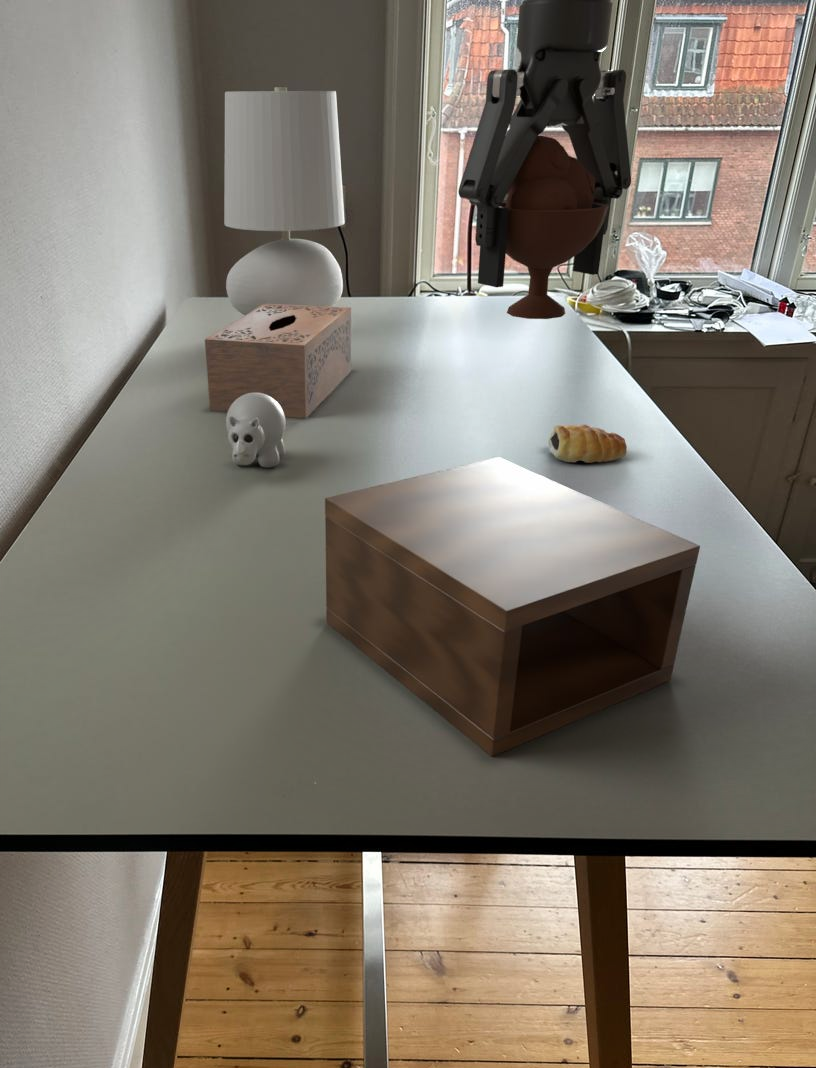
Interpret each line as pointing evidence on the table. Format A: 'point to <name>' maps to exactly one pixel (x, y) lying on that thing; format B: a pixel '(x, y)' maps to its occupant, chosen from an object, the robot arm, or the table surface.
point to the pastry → (585, 444)
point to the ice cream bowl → (549, 220)
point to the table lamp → (283, 195)
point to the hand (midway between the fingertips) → (539, 278)
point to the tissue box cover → (280, 356)
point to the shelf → (505, 596)
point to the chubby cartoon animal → (256, 430)
